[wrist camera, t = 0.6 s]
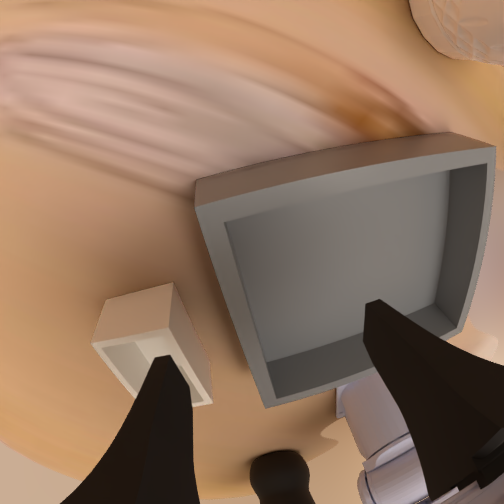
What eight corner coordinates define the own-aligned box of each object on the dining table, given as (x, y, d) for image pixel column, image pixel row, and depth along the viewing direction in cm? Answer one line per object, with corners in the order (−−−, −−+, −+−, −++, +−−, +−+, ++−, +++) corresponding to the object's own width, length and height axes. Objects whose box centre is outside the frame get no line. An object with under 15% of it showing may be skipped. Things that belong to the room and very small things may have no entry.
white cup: (384, 12, 12) (510, -15, 3) (418, -46, 9) (517, -73, 1) (459, 87, 15) (572, 112, 6) (484, 24, 12) (580, 31, 3)
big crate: (435, 302, 24) (461, 331, 21) (255, 365, 24) (265, 408, 20) (451, 132, 16) (496, 146, 13) (196, 179, 16) (194, 207, 12)
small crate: (209, 358, 23) (213, 403, 19) (152, 369, 23) (148, 413, 19) (173, 280, 19) (168, 327, 15) (106, 298, 19) (90, 343, 15)
